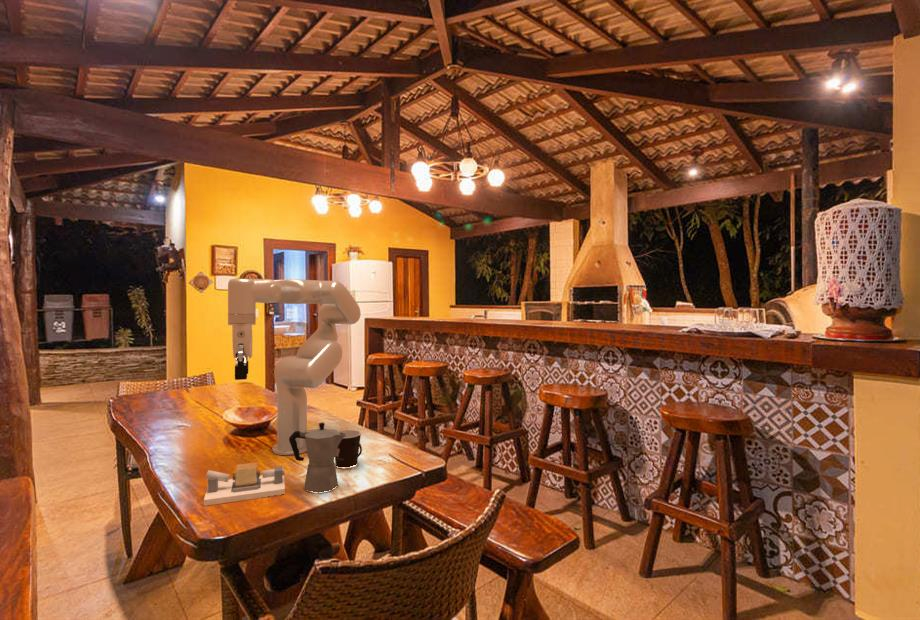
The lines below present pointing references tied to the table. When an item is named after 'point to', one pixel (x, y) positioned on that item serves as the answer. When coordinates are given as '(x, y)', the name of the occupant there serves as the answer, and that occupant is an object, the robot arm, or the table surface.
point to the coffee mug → (348, 449)
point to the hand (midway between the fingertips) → (241, 376)
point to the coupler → (246, 475)
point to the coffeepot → (319, 457)
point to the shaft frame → (226, 490)
